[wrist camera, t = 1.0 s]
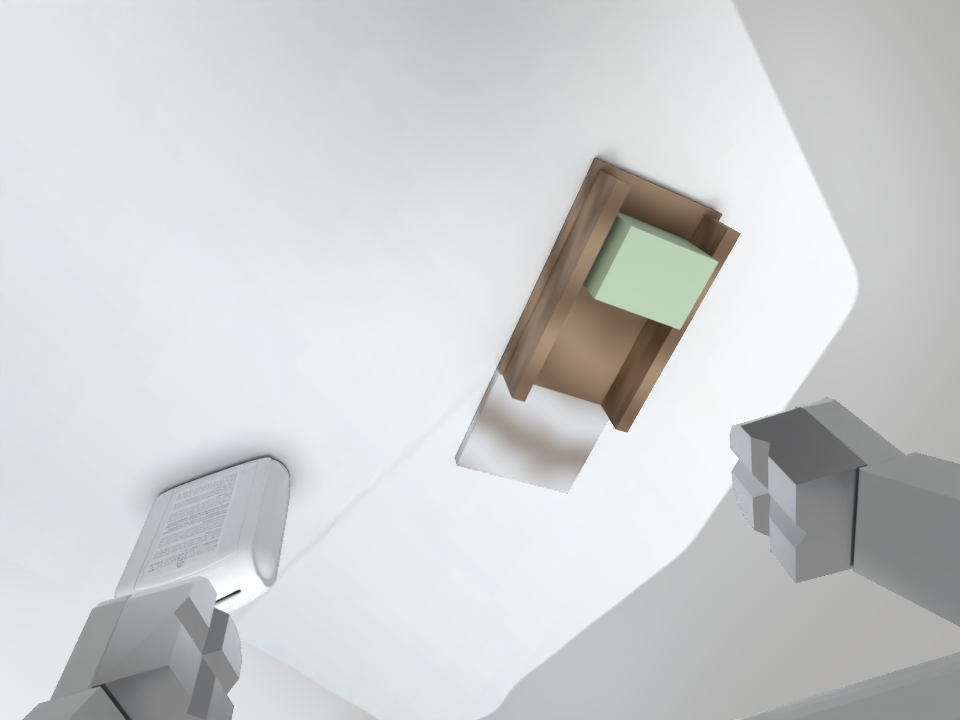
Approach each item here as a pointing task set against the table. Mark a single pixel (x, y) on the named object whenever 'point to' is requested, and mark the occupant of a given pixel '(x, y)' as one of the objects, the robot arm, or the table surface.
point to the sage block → (649, 271)
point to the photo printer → (215, 534)
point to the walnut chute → (583, 341)
